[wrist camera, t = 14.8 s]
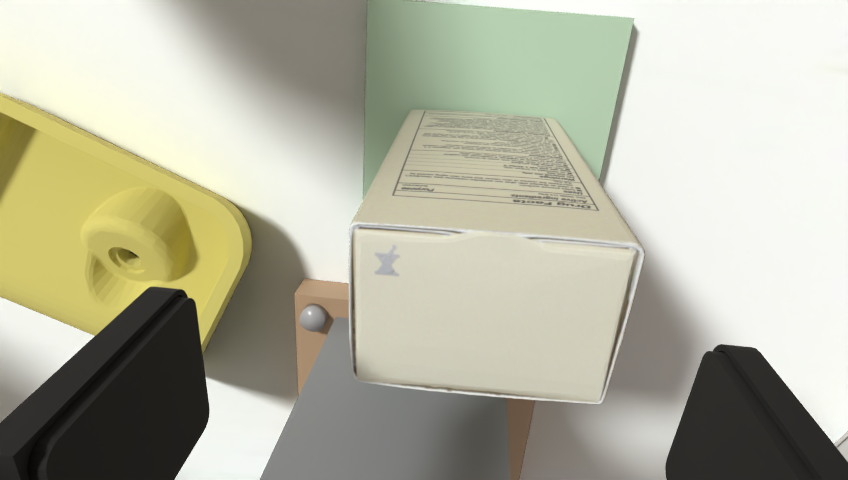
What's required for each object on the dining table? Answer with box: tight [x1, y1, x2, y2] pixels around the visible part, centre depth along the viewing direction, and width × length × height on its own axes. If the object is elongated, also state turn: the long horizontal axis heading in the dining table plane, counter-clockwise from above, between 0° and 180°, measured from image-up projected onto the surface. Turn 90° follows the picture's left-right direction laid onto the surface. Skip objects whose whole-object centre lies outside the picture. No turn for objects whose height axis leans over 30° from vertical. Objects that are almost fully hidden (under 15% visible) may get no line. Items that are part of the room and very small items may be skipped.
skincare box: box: [349, 109, 645, 404], centre depth 17 cm, size 6×4×12 cm
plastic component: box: [0, 93, 252, 354], centre depth 25 cm, size 20×7×10 cm
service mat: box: [363, 0, 634, 200], centre depth 23 cm, size 10×12×1 cm
